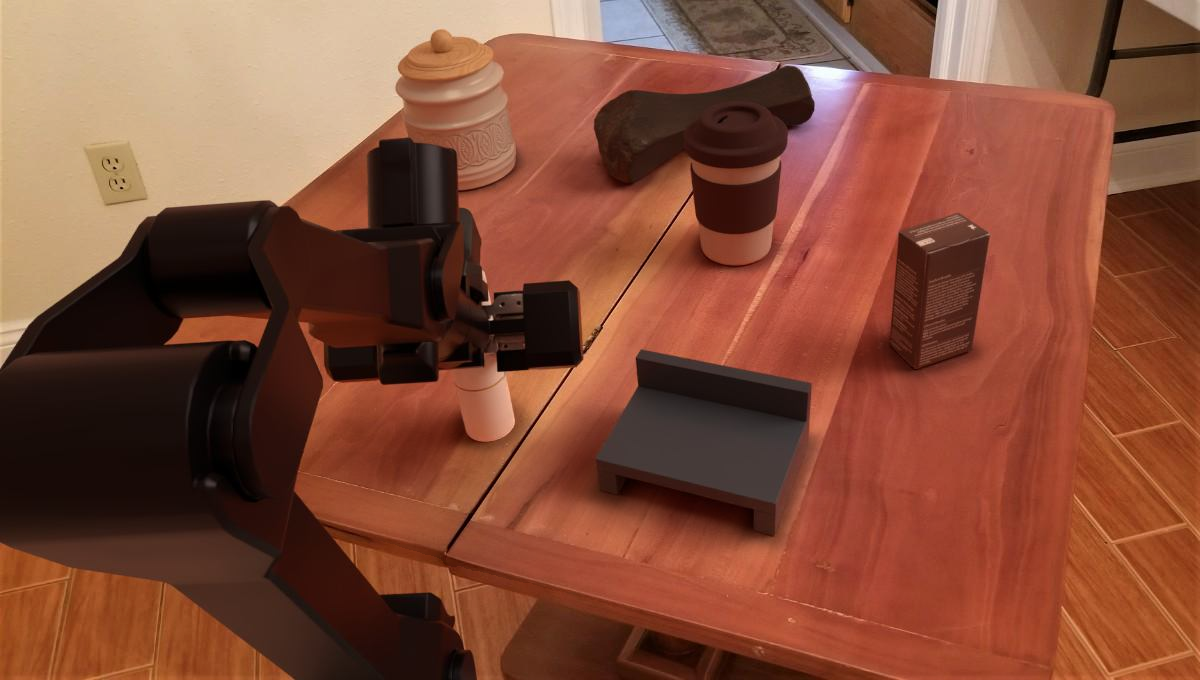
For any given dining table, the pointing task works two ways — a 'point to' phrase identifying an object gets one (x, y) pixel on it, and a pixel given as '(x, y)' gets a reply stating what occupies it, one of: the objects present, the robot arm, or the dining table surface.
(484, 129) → the jar
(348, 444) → the dining table surface
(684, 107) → the dark brown bone
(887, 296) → the dining table surface
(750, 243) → the coffee cup
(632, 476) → the shelf
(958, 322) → the box
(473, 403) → the tube
